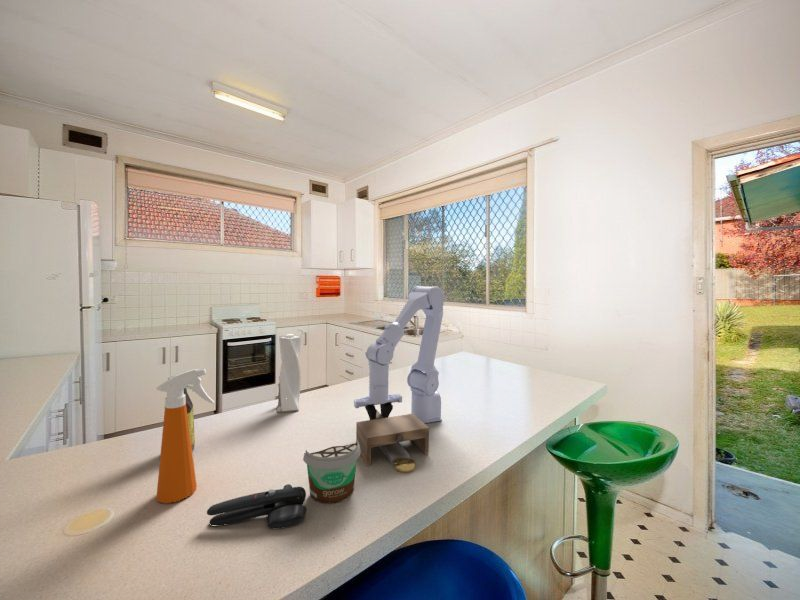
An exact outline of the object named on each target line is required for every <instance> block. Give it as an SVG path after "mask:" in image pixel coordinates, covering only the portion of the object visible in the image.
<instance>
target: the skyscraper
mask: <svg viewBox="0 0 800 600" xmlns="http://www.w3.org/2000/svg"><path fill="white" fill-rule="evenodd" d="M295 332H301V333H300V336H298V335H297V336H295V335H296V334H294V333H295ZM302 336H303V330H302V329H295V330H294V329H293V331H291V332H290V333H288V334H285V335H279V336H278V337H279V338H278V341H279V342H278V343H279V351H280V352H279V353H280V358H281V359H280V360H281V365H280V372H279V376H278V377H279V378H278V379H279V380H278V381H279V382H278V384H277V387H278V392H277V393H278V394H277V401H278V402H277V409H276V413H277V414H282V413H283V414H284V413H293V412H299V403H300V394H301V381H302V380H301V378H302V377H301V367H300V362H299V358H300V351H301V346H302V345H301V342H302ZM286 398H287V399H286Z"/></svg>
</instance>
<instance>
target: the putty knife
mask: <svg viewBox="0 0 800 600" xmlns="http://www.w3.org/2000/svg"><path fill="white" fill-rule="evenodd" d="M381 418H383V416H382V415H381V412H380V411H378V410H377V413H376V419H381ZM378 448H380V450H381V452H382V453H383V454H384V456H385V457H386V458H387V461H389V463H390V465H392V464H395V461H396V460H397V459H399V458H410V459H411V457H410V453H409V452H408V451H407V449H406V448H405V447H404V446H403V445H402V444H401V442H398V443H392V444H387V445H381V446H378Z"/></svg>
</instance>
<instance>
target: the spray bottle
mask: <svg viewBox="0 0 800 600" xmlns="http://www.w3.org/2000/svg"><path fill="white" fill-rule="evenodd" d="M204 375H207V371H206V368H194V369H190V370H187V371H184V372H182V373H179V374H177V375H173V376H174V377H172V376H171V377H172V378H170V379H168V378H167V380H165V381H163V383H161V384H160V385H158V386H157V387H156V390H157V391H159V392H164V393H166V397H164V415H163V426H162V434H161V436H162V437H161V443H160V445H161V447H160V455H159V466H158V475H157V476H158V478H157V488H156V500H157V502H158V503H161V502H163V503H162V504H172V503H171V502H174V503H177V502H176V501H178V502H180V500H181V501H183V500H185V499H184V498H186V499H188V498H189V497H190V496H192V495H193V494H195V492H194V491H196V490H197V477H196V470H195V461H194V455H193V450H192V446H191V439H190V431H189V424H188V416H187V409H186V398H185V394H184V389H185V388H186V389H187V390H192V392H193V393H195V394H196V395H198V396H199V397H200V398H201V399H203V400H204V401H206V402H208V403H210V404H214V403H215V401H214V399H212V398H211V397H210V395H208V392H206V390H205V389H204V387H203V386H202V378H200V377H202V376H204ZM191 494H192V495H191ZM188 496H189V497H188ZM182 499H183V500H182Z"/></svg>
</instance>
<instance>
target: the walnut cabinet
mask: <svg viewBox="0 0 800 600" xmlns="http://www.w3.org/2000/svg"><path fill="white" fill-rule="evenodd" d="M355 423H356V427H355V428H356V431H355V433H356V437H355V438H356V439H357V440H358V443H359V446H360V451H361V453H360V456H361V459H362V460H363V462H364V463H365V465H366V467H368V466H371V465H372V448H375V447H379V446H381V445H387V444H392V443H398V442H399V443H403V442H408V441H412V442H413V443H414V444H415V445H416V446H417V447H418V448H419V449H420V450H421V451H422V452H423V453H424V455H426V454H429V452H430V451H429V448H430V445H429V443H430V427H429V426H428V425H427V423H423V422H422V421H421V420H420V419H419V418H418V417H416V416H415V415H414V414H411V413H407V414H402V415H396V416H395V415H393V416H389V417H387V418H381V419H374V420H370V419H368V420H362V421H357V422H355ZM356 439H355V440H356Z"/></svg>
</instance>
